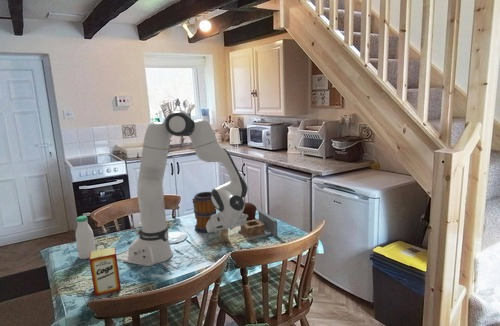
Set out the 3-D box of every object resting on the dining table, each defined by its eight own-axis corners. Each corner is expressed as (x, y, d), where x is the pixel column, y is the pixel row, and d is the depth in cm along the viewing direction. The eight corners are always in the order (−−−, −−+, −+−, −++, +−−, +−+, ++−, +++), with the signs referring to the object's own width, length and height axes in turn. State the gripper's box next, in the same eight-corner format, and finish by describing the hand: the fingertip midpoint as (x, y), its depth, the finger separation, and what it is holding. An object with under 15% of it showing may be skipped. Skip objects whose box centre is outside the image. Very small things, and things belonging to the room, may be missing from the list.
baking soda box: (119, 281, 141) (115, 246, 138) (121, 289, 135) (115, 252, 132) (95, 287, 137) (89, 251, 134) (95, 296, 131) (89, 258, 128)
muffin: (249, 214, 210) (248, 199, 208) (261, 219, 202) (260, 203, 200) (233, 219, 203) (233, 204, 201) (245, 225, 195) (244, 208, 193)
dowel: (219, 242, 174) (218, 224, 172) (221, 239, 177) (220, 221, 175) (227, 242, 173) (226, 224, 171) (229, 239, 177) (228, 221, 175)
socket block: (247, 239, 175) (247, 228, 174) (240, 233, 183) (240, 222, 182) (265, 235, 179) (264, 224, 178) (257, 229, 187) (257, 219, 186)
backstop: (249, 243, 171) (248, 226, 169) (236, 230, 187) (235, 215, 185) (277, 236, 177) (277, 220, 175) (262, 225, 193) (261, 210, 192)
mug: (185, 226, 196) (182, 193, 192) (205, 219, 206) (203, 187, 201) (204, 236, 182) (201, 200, 178) (225, 228, 192) (223, 194, 187)
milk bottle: (99, 254, 167) (94, 215, 162) (85, 261, 160) (79, 221, 156) (89, 250, 170) (84, 213, 166) (75, 257, 164) (69, 218, 160)
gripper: (247, 208, 169) (240, 220, 180) (207, 216, 161) (203, 228, 172) (251, 219, 166) (244, 231, 177) (211, 228, 158) (206, 239, 169)
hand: (223, 229), depth 174 cm, fingers open, 7 cm apart
